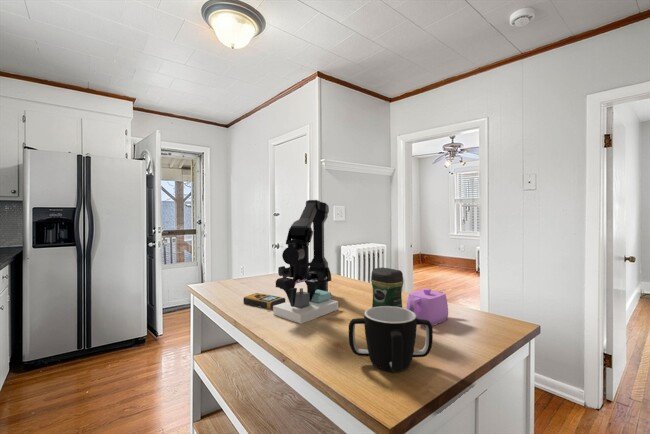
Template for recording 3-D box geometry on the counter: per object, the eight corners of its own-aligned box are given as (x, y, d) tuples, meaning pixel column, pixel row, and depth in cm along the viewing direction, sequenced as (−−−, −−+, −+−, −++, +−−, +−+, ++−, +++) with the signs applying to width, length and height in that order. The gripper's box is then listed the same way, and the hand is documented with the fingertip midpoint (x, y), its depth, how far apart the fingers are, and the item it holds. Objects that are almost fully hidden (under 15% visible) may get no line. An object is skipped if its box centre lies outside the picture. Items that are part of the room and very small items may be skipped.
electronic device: (257, 299, 131) (257, 291, 131) (286, 305, 123) (286, 296, 123) (241, 304, 124) (241, 296, 124) (271, 310, 115) (271, 301, 115)
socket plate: (310, 302, 124) (310, 294, 124) (338, 309, 115) (338, 301, 115) (273, 314, 110) (273, 305, 110) (300, 323, 101) (300, 314, 101)
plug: (301, 310, 114) (301, 286, 113) (309, 312, 111) (309, 288, 111) (293, 313, 111) (293, 288, 110) (301, 315, 108) (301, 290, 108)
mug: (440, 367, 73) (440, 315, 72) (392, 390, 63) (392, 331, 63) (388, 343, 86) (388, 299, 86) (342, 359, 77) (342, 311, 76)
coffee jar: (408, 329, 95) (408, 268, 95) (391, 336, 91) (391, 272, 90) (383, 320, 103) (383, 264, 103) (367, 326, 98) (366, 267, 98)
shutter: (317, 295, 122) (317, 287, 122) (330, 298, 118) (330, 290, 117) (305, 299, 117) (305, 291, 117) (318, 302, 112) (318, 294, 112)
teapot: (429, 309, 114) (429, 281, 114) (456, 317, 106) (456, 287, 106) (398, 321, 103) (398, 290, 103) (426, 330, 95) (426, 296, 95)
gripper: (303, 254, 123) (304, 294, 123) (265, 260, 109) (265, 305, 109) (324, 257, 115) (325, 299, 116) (286, 264, 101) (286, 312, 102)
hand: (301, 303), depth 111 cm, fingers open, 8 cm apart
